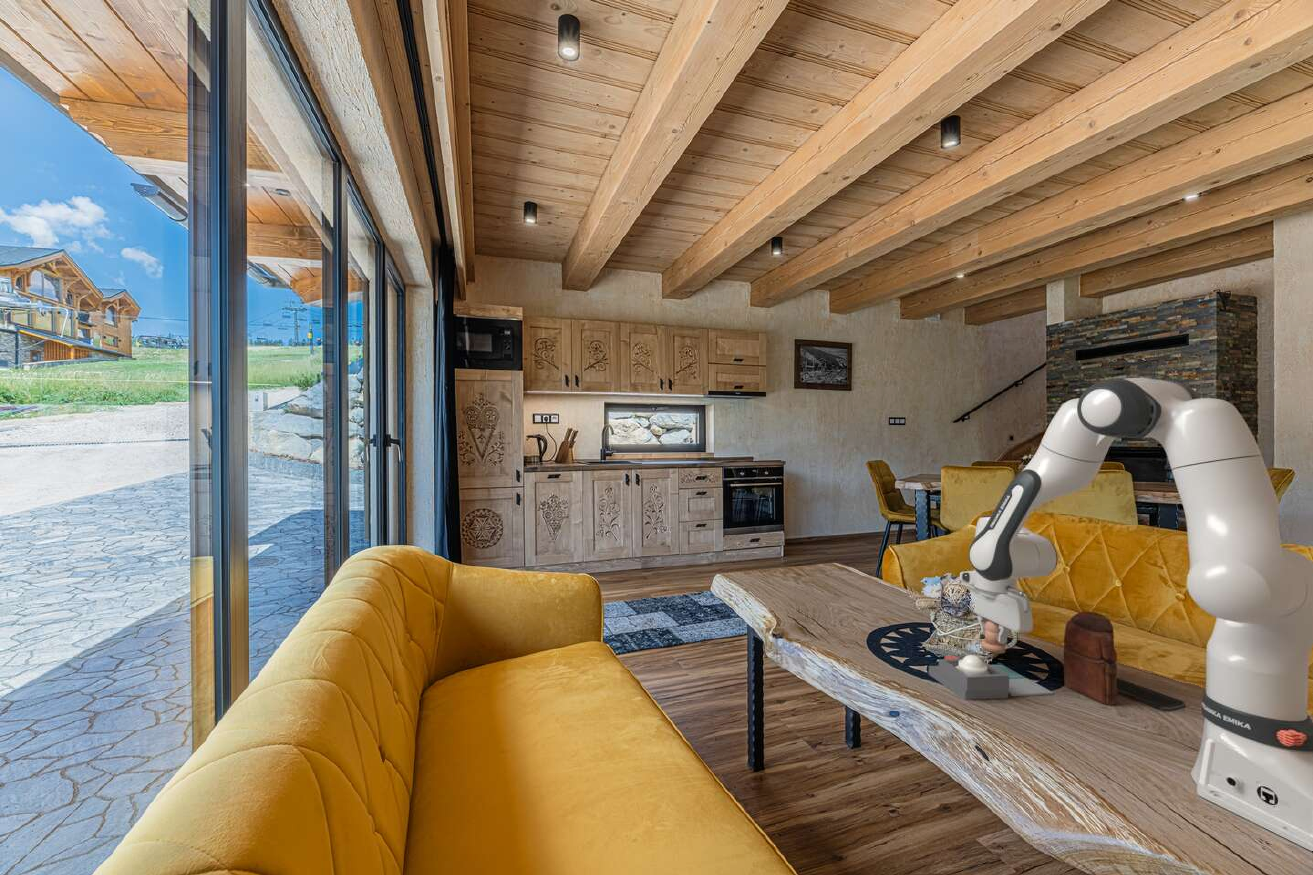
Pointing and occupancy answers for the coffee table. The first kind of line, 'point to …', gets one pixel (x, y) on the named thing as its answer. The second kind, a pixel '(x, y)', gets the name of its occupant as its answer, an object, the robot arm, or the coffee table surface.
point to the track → (1022, 684)
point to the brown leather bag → (1091, 657)
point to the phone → (1148, 696)
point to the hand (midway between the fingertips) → (993, 638)
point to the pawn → (992, 638)
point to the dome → (972, 666)
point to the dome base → (970, 680)
